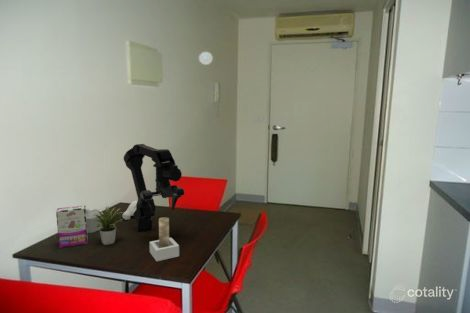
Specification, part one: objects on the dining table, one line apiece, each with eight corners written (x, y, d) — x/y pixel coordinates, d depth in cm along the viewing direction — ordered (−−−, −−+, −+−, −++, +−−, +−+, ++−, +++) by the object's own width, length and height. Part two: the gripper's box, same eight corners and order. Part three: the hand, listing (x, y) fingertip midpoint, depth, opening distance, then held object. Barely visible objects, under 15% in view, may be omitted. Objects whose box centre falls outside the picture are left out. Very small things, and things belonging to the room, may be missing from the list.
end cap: (149, 252, 132) (149, 241, 132) (171, 247, 137) (171, 237, 136) (156, 261, 124) (156, 250, 124) (179, 256, 129) (179, 245, 128)
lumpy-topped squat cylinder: (89, 233, 150) (88, 216, 149) (71, 228, 156) (70, 211, 155) (107, 226, 159) (106, 210, 158) (89, 222, 165) (88, 206, 164)
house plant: (108, 252, 131) (106, 214, 129) (82, 247, 136) (80, 210, 133) (131, 239, 144) (130, 205, 142) (106, 235, 149) (105, 201, 147)
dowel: (158, 253, 129) (157, 220, 127) (160, 249, 133) (160, 217, 131) (168, 253, 129) (167, 220, 127) (170, 249, 133) (169, 217, 131)
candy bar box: (87, 240, 143) (86, 204, 141) (87, 244, 139) (85, 208, 136) (59, 243, 139) (57, 207, 136) (58, 248, 134) (55, 211, 132)
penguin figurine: (143, 200, 175) (126, 208, 165) (144, 214, 177) (128, 223, 167) (135, 198, 178) (118, 206, 168) (136, 212, 180) (119, 221, 170)
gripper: (146, 183, 130) (147, 220, 133) (188, 179, 140) (189, 213, 142) (139, 178, 140) (140, 212, 142) (179, 174, 149) (180, 206, 152)
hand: (163, 211), depth 144 cm, fingers open, 9 cm apart
